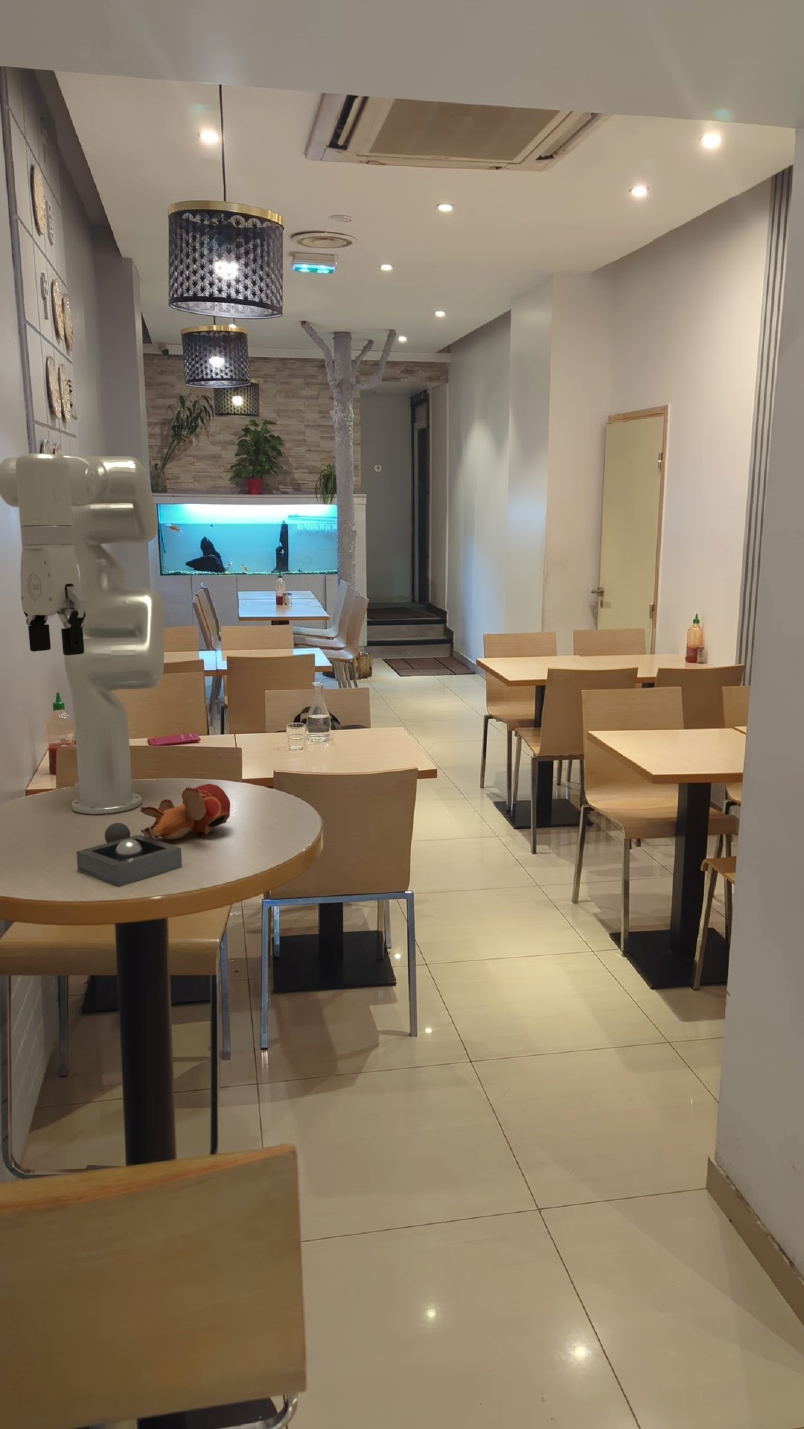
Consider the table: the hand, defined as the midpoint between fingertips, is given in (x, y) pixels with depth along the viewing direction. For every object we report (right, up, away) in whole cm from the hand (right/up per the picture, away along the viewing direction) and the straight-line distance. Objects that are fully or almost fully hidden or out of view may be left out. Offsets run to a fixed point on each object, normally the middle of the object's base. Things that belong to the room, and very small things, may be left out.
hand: (56, 652), depth 149 cm
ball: (+7, -29, +9) cm, 31 cm away
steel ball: (+12, -30, -2) cm, 33 cm away
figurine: (+16, -30, +15) cm, 37 cm away
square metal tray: (+12, -33, -1) cm, 35 cm away
